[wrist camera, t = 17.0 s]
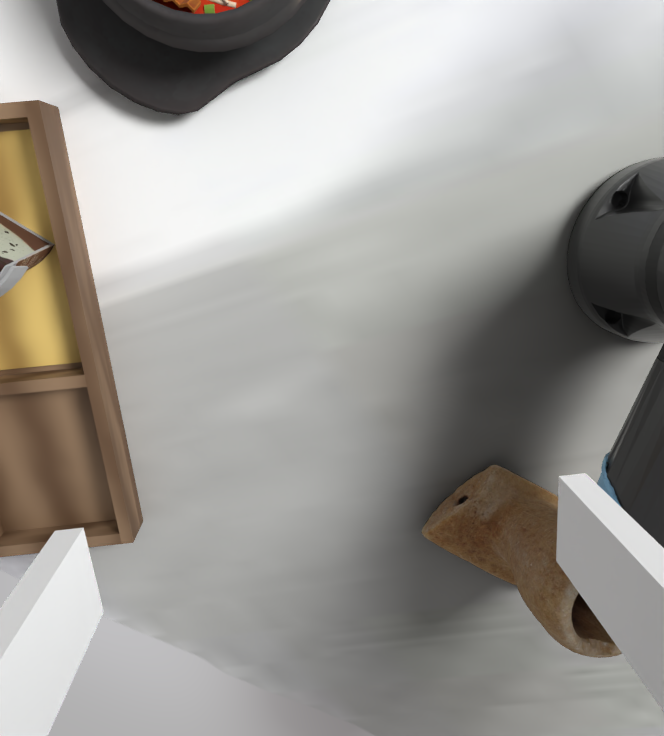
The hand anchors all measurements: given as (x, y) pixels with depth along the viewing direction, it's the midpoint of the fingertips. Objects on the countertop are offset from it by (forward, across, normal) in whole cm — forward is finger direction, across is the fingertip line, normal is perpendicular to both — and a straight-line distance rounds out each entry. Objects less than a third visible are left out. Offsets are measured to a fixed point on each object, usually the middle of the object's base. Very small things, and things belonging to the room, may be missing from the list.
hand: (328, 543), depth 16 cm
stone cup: (+35, +18, -22) cm, 45 cm away
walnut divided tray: (+35, -24, -1) cm, 42 cm away
